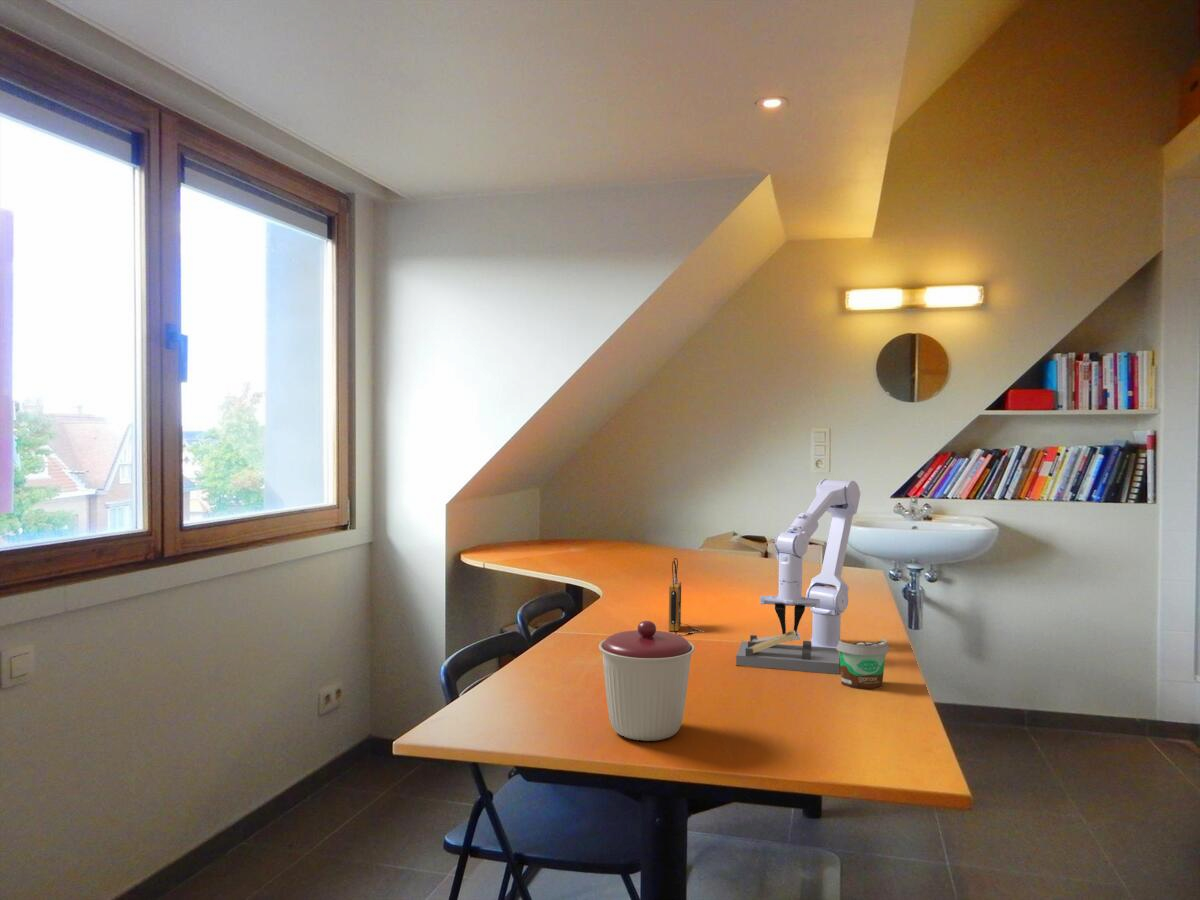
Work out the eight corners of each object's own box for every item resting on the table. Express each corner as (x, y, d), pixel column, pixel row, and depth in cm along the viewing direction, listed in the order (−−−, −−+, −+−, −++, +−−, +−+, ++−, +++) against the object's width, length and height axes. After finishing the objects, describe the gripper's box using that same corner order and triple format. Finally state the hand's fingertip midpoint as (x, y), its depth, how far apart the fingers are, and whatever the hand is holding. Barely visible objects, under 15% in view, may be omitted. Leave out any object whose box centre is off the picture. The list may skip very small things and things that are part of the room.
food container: (850, 693, 184) (851, 647, 184) (835, 684, 190) (836, 640, 190) (900, 689, 188) (900, 644, 187) (883, 680, 194) (884, 637, 193)
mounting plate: (741, 650, 218) (741, 634, 218) (838, 658, 212) (838, 641, 212) (736, 665, 204) (736, 648, 204) (839, 674, 198) (839, 656, 198)
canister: (686, 715, 170) (688, 610, 169) (700, 750, 151) (701, 633, 151) (596, 715, 169) (597, 610, 168) (599, 750, 151) (600, 633, 150)
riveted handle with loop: (702, 637, 232) (703, 564, 231) (666, 635, 234) (667, 563, 233) (707, 624, 246) (707, 556, 245) (672, 623, 248) (673, 555, 247)
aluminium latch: (752, 646, 212) (751, 642, 213) (753, 642, 216) (752, 639, 216) (800, 639, 209) (799, 635, 209) (800, 636, 213) (799, 632, 213)
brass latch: (749, 654, 205) (747, 650, 205) (750, 650, 208) (748, 647, 208) (795, 637, 202) (793, 633, 202) (796, 633, 205) (794, 629, 205)
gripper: (759, 581, 209) (758, 636, 210) (820, 585, 206) (819, 640, 206) (761, 576, 216) (760, 629, 217) (820, 580, 212) (819, 633, 213)
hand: (789, 634), depth 212 cm, fingers closed
